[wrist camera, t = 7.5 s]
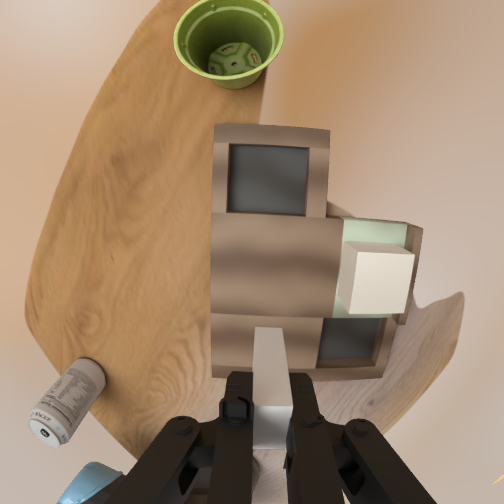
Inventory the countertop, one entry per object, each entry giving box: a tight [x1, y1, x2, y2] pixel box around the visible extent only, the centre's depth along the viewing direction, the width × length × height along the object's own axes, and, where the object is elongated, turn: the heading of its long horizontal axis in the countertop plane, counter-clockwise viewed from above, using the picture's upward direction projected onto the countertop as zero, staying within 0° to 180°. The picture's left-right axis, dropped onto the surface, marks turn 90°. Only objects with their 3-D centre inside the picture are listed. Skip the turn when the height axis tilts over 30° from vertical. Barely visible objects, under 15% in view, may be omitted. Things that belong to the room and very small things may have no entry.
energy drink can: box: [28, 359, 105, 448], centre depth 32 cm, size 6×6×15 cm
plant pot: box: [174, 0, 284, 89], centre depth 25 cm, size 9×9×9 cm
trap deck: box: [210, 124, 423, 381], centre depth 32 cm, size 29×22×4 cm
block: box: [337, 240, 415, 314], centre depth 29 cm, size 6×6×5 cm
